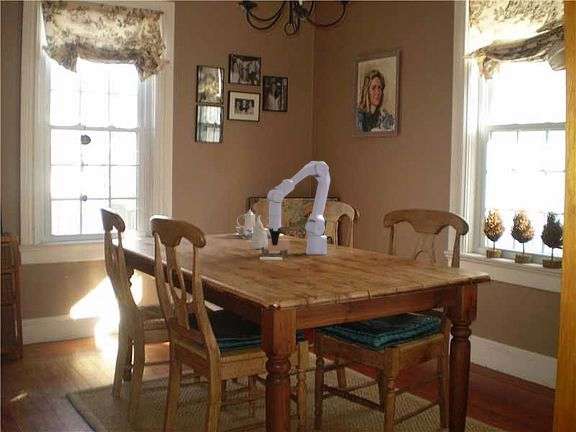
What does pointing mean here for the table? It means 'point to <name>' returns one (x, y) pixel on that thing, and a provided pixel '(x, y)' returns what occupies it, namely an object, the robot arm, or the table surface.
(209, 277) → the table surface
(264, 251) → the rack
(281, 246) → the salmon pink block
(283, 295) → the table surface
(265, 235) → the stone tool
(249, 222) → the chinaware
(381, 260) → the table surface
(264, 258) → the fired strip
